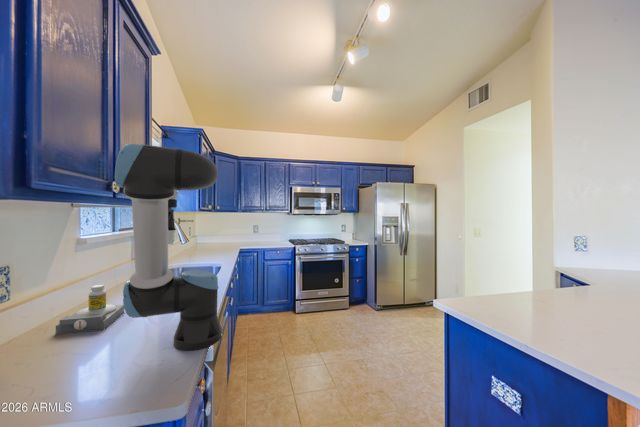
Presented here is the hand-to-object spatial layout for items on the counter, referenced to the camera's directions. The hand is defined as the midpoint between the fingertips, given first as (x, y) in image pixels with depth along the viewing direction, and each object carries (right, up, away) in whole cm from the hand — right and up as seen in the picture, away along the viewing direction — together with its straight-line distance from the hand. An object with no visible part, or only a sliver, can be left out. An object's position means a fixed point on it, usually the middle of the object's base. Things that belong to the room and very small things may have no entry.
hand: (165, 246), depth 114 cm
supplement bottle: (-21, -25, -11) cm, 34 cm away
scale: (-21, -28, -13) cm, 37 cm away
